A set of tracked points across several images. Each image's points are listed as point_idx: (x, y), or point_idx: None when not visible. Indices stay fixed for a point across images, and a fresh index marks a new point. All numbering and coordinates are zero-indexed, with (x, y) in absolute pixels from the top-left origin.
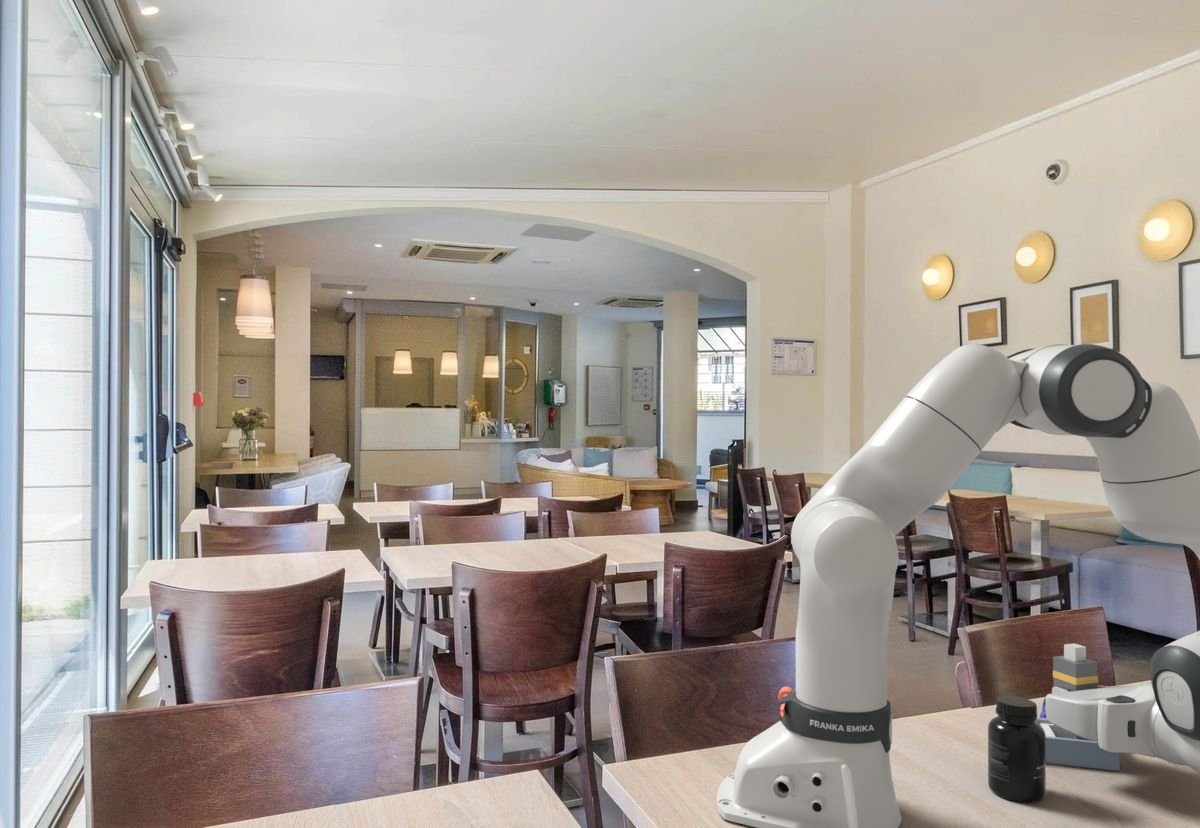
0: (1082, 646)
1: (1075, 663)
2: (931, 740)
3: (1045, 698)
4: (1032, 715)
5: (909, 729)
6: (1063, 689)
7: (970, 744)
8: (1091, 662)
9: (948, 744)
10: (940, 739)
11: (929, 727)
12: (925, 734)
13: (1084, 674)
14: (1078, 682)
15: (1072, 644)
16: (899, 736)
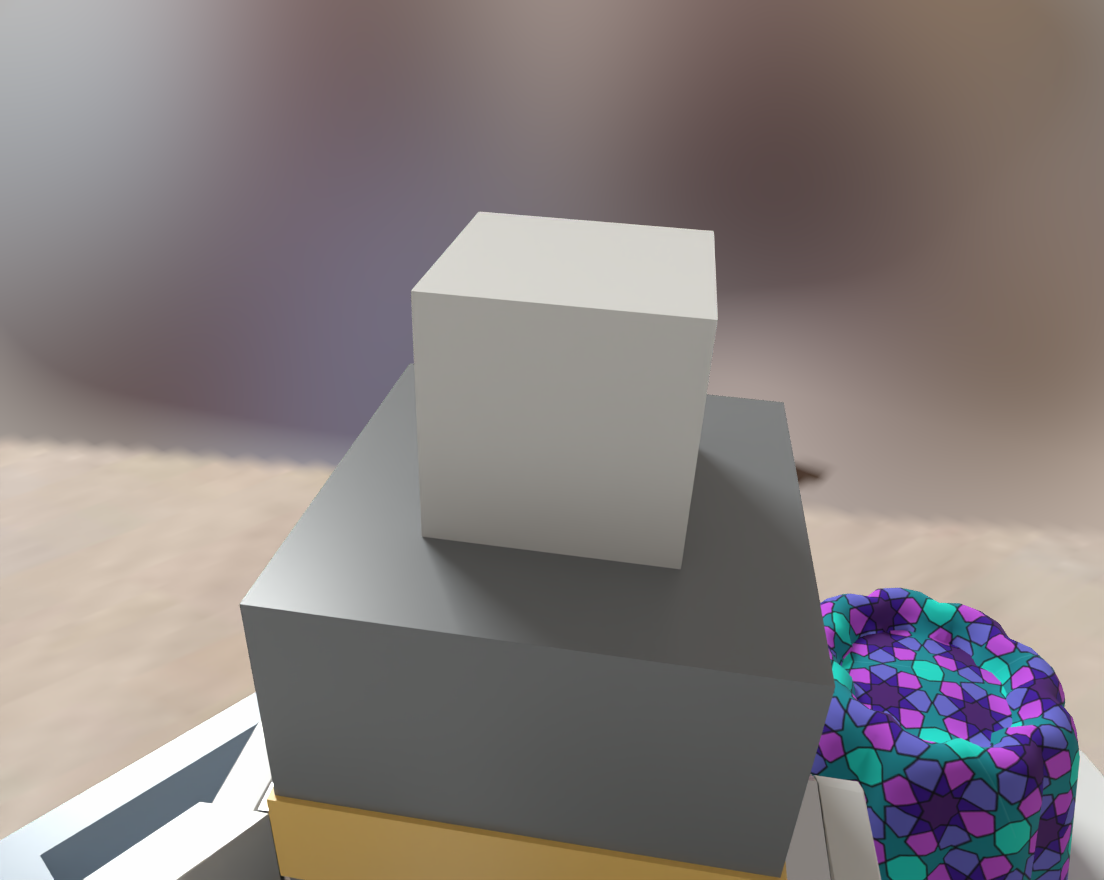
0: (664, 297)
1: (293, 582)
2: (62, 612)
3: (821, 603)
4: None
5: (148, 518)
6: (239, 805)
7: (146, 713)
8: (661, 663)
9: (59, 669)
10: (110, 621)
11: (244, 534)
12: (132, 567)
13: (468, 794)
14: (332, 857)
15: (622, 235)
16: (16, 541)
